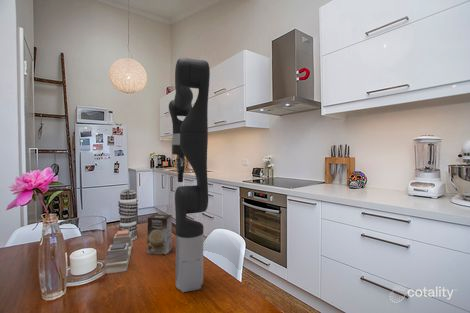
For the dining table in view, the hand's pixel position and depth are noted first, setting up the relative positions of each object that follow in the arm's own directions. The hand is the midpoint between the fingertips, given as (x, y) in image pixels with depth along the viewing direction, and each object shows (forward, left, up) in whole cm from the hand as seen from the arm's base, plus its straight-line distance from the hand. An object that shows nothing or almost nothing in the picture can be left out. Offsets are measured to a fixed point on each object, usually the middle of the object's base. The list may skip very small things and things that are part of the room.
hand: (180, 181), depth 106 cm
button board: (-2, +25, -31) cm, 40 cm away
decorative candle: (+22, +24, -31) cm, 45 cm away
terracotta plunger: (+5, +25, -27) cm, 37 cm away
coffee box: (0, +9, -31) cm, 32 cm away
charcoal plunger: (-9, +25, -28) cm, 38 cm away
